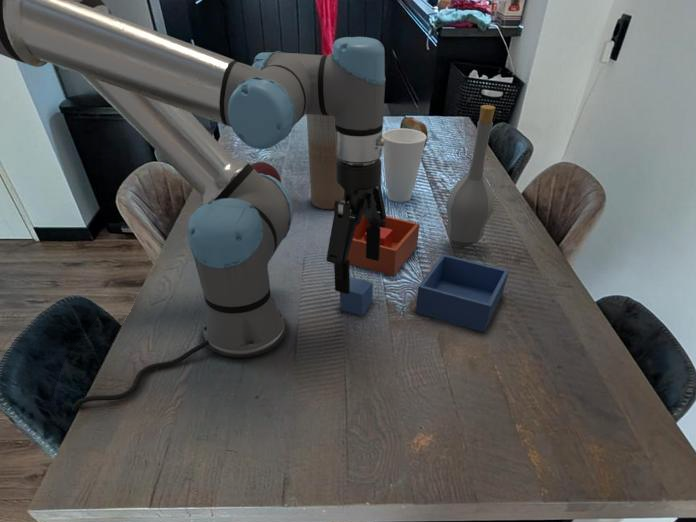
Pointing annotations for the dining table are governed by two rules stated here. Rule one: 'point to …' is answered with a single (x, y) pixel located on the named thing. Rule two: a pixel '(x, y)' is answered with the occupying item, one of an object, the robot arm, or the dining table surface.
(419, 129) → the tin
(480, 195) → the bottle
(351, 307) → the blue block
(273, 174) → the decorative ball
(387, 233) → the red block
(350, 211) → the robot arm
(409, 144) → the cup
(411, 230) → the red bin
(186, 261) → the dining table surface
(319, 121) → the vase
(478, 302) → the blue bin
